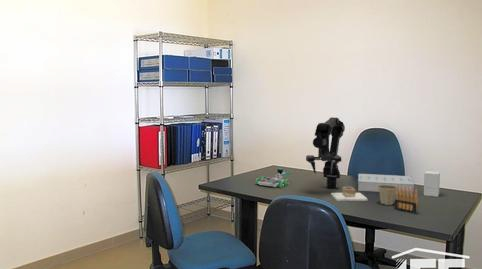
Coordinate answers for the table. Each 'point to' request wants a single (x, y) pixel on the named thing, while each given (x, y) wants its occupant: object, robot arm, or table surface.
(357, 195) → the jaw base
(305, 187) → the table surface
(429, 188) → the supplement box
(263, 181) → the robot kit
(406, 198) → the ammunition clip
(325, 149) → the robot arm
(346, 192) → the jaw block
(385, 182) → the warehouse
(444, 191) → the table surface
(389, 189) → the flower pot
